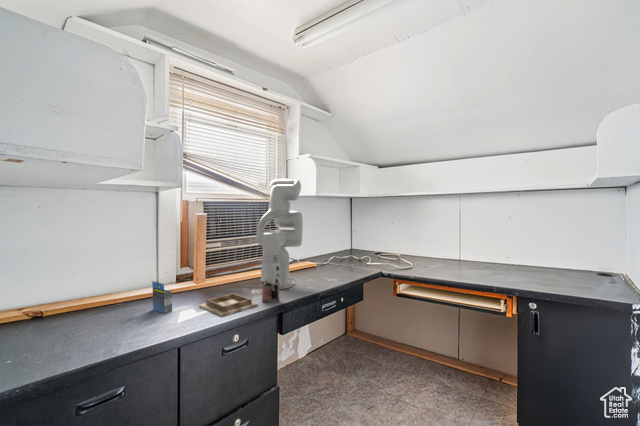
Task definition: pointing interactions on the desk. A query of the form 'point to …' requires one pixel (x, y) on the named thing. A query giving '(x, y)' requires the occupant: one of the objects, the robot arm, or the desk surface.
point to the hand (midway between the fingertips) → (270, 296)
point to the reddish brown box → (268, 293)
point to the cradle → (228, 304)
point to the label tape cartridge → (161, 298)
